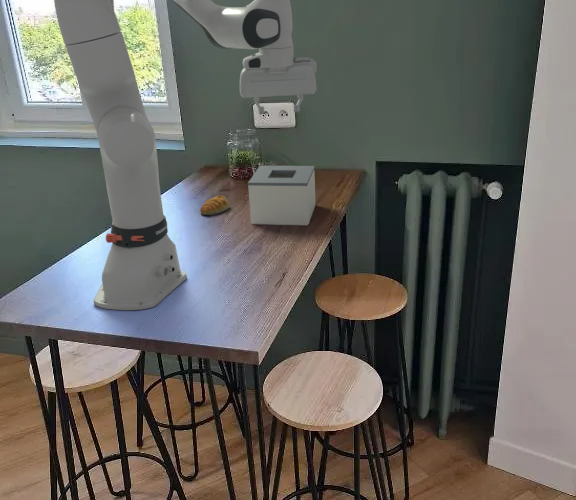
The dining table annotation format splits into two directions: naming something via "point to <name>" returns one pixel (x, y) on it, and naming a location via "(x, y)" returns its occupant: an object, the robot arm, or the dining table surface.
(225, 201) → the pastry
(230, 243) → the dining table surface
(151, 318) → the dining table surface
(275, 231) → the dining table surface
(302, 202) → the hole box
